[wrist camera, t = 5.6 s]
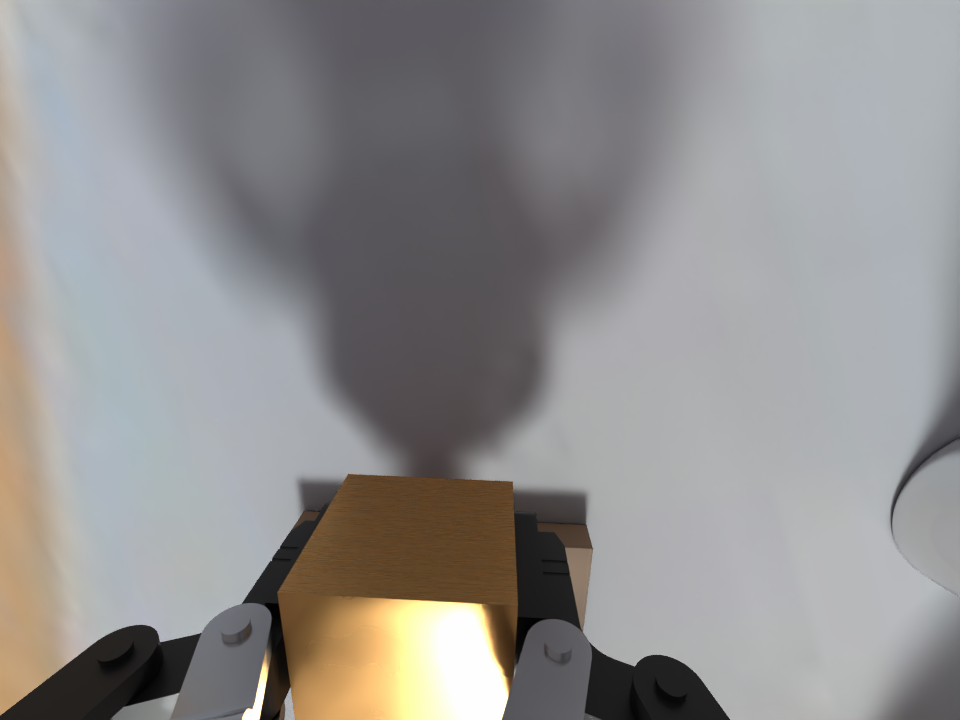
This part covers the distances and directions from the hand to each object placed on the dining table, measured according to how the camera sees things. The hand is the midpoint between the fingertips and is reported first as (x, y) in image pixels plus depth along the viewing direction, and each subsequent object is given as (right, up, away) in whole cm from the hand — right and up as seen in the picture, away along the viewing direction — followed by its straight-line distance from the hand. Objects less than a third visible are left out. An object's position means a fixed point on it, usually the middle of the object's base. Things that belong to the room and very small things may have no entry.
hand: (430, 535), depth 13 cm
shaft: (0, -9, +3) cm, 9 cm away
